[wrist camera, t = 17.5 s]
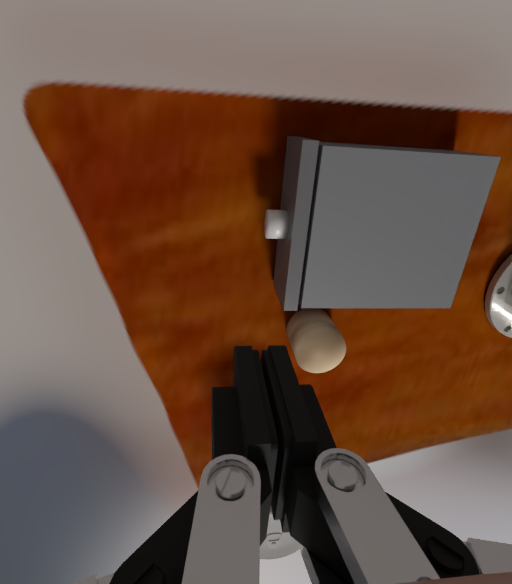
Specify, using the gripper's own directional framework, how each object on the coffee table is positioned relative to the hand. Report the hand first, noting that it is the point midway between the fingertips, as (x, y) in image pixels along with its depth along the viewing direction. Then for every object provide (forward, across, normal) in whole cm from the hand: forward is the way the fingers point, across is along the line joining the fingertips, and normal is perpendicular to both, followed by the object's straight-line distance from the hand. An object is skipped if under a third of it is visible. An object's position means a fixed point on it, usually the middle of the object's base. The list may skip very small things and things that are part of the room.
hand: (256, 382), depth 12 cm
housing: (+23, -14, 0) cm, 27 cm away
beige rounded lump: (+23, -10, +12) cm, 28 cm away
